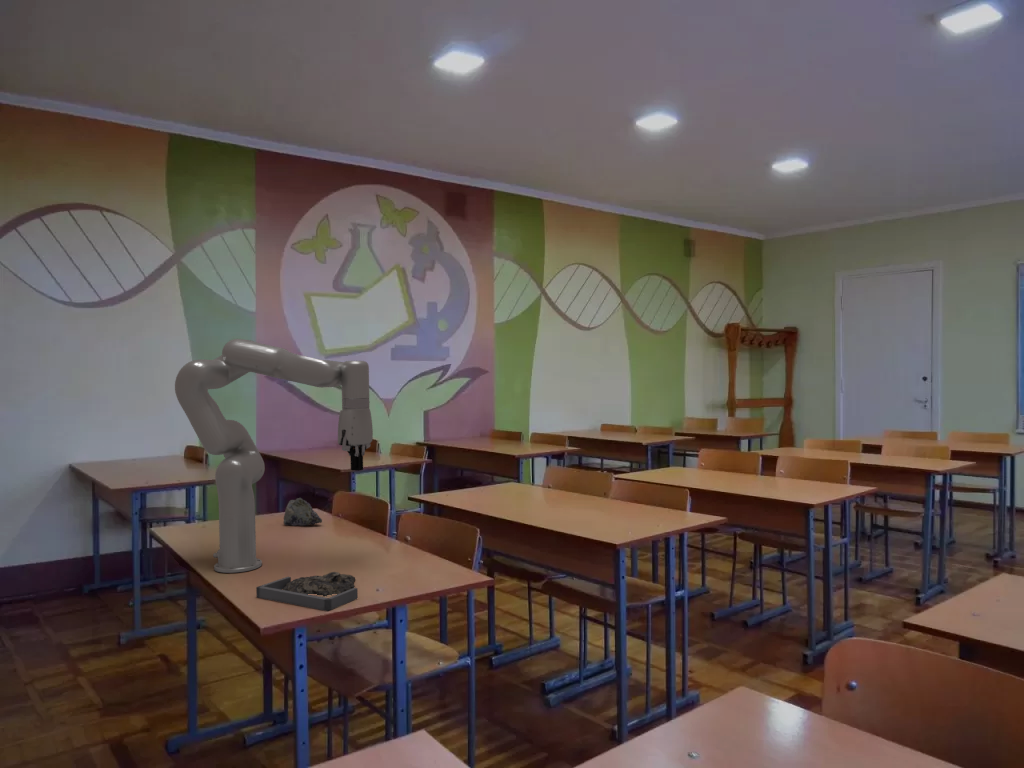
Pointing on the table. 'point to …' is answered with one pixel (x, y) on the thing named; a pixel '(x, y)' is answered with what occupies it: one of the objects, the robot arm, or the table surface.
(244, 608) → the table surface
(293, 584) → the grey rough rock slab
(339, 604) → the frame
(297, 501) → the mineral rock
